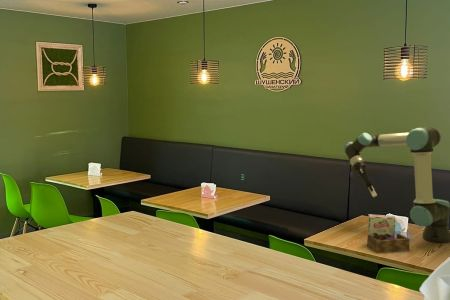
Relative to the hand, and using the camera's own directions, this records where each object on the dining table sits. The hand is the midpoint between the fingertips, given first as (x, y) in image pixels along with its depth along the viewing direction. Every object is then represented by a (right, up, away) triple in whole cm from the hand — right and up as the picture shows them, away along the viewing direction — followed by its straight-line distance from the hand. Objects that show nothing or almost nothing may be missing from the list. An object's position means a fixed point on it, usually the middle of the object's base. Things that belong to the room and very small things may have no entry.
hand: (375, 196), depth 271 cm
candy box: (-3, -25, -18) cm, 31 cm away
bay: (-1, -26, -23) cm, 34 cm away
